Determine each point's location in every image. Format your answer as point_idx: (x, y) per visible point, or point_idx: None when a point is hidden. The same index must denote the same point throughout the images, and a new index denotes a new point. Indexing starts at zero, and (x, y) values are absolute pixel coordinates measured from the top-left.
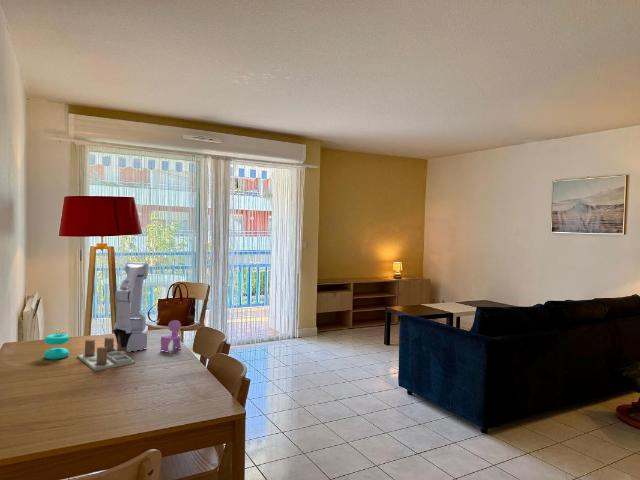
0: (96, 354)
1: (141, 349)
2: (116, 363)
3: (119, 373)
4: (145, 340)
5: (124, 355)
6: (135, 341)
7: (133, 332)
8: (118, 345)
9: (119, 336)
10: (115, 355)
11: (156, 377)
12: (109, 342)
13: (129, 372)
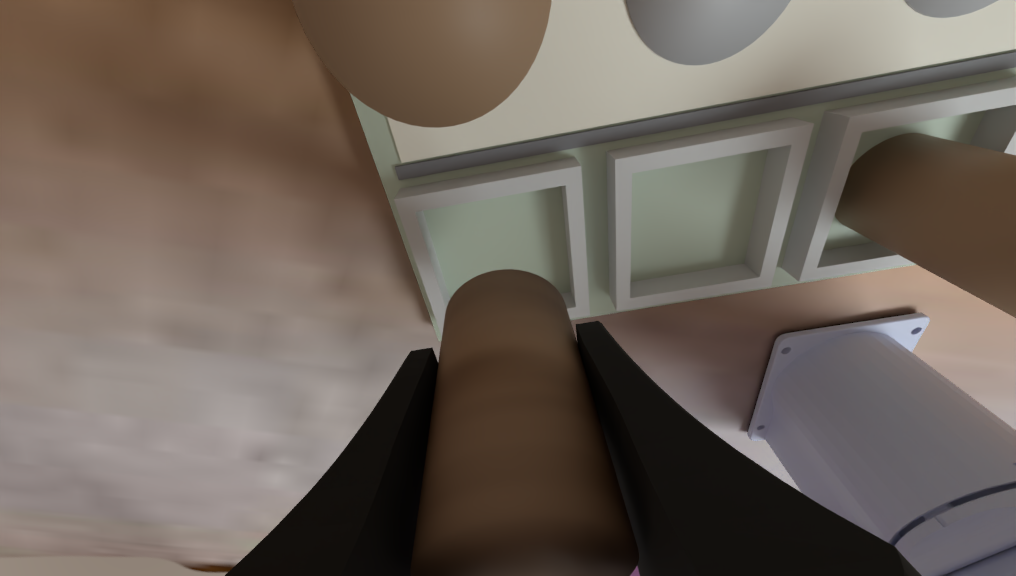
0: (949, 23)
1: (759, 412)
2: (398, 190)
3: (138, 167)
4: (808, 491)
5: (614, 299)
6: (831, 446)
7: (941, 534)
8: (472, 333)
9: (447, 512)
10: (727, 229)
11: (29, 389)
12: (985, 240)
13: (171, 254)
